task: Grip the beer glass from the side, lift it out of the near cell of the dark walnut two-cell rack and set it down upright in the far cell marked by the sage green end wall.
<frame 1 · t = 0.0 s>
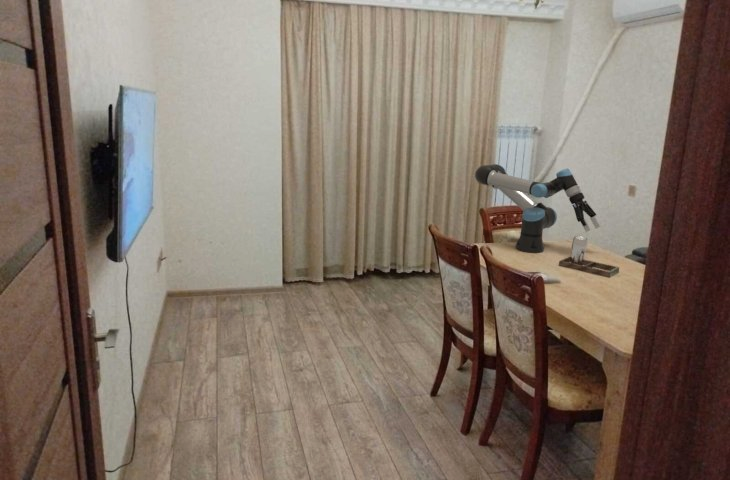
hand: (593, 229, 278), 15 cm above the table, tool tilted 35°, fingers open, 13 cm apart
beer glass: (576, 266, 262), resting in two-cell rack
two-cell rack: (588, 268, 258), on the table
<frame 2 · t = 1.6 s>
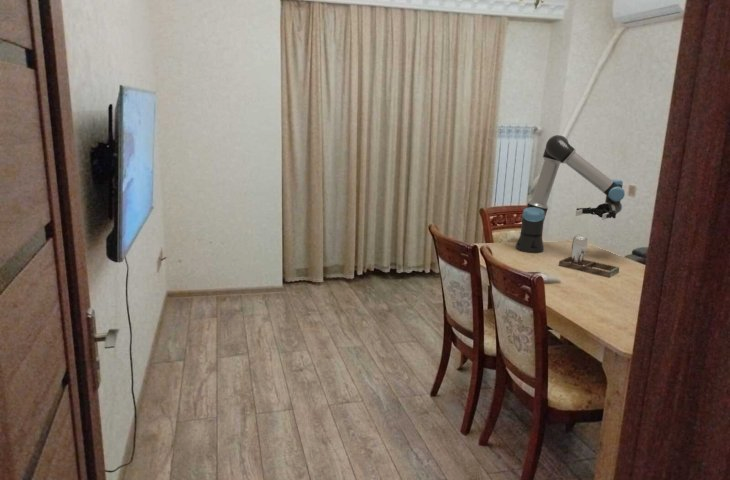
hand: (589, 215, 263), 26 cm above the table, tool horizontal, fingers open, 13 cm apart
nothing on the table moved.
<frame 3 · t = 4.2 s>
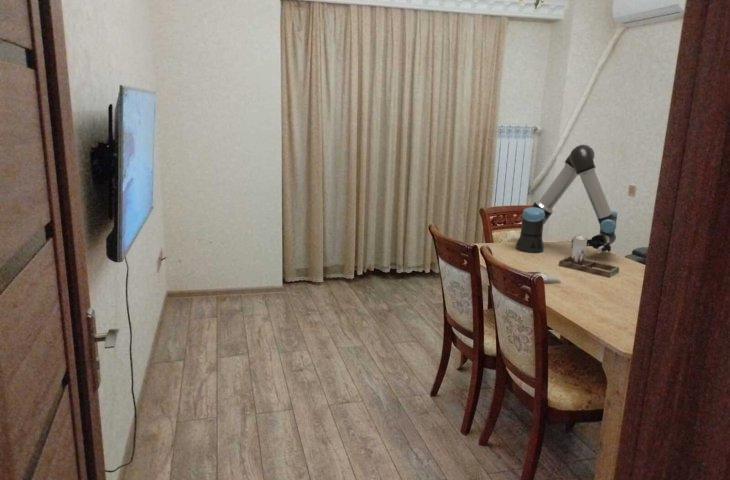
hand: (584, 247, 264), 9 cm above the table, tool horizontal, fingers open, 13 cm apart
nothing on the table moved.
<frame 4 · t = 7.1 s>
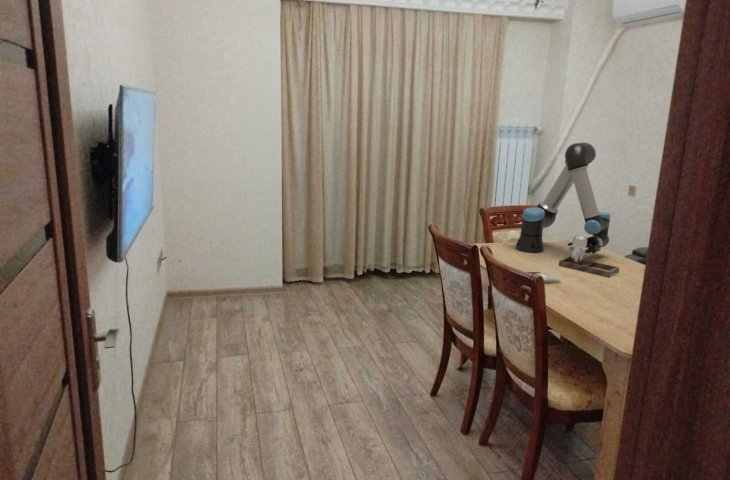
hand: (574, 250, 257), 9 cm above the table, tool horizontal, fingers closed on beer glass, 7 cm apart
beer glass: (576, 266, 262), resting in two-cell rack, touching gripper
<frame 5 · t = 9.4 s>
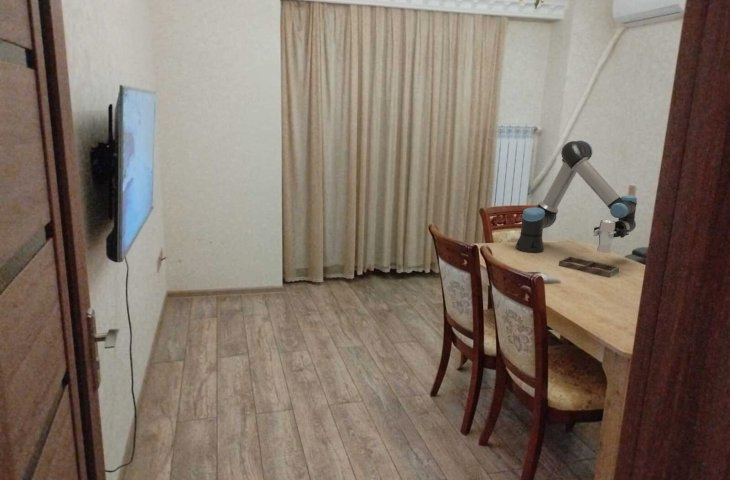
hand: (602, 234, 246), 20 cm above the table, tool horizontal, fingers closed on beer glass, 7 cm apart
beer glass: (603, 251, 252), point 10 cm above the table, touching gripper
when the fingers open (10 cm above the table, at t = 11.7 s): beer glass drops 1 cm, resting in two-cell rack.
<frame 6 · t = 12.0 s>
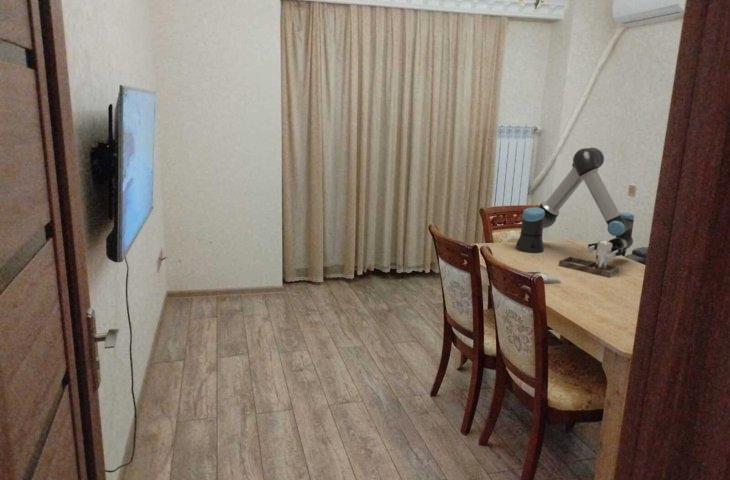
hand: (600, 252, 249), 10 cm above the table, tool horizontal, fingers open, 10 cm apart
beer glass: (600, 271, 254), resting in two-cell rack
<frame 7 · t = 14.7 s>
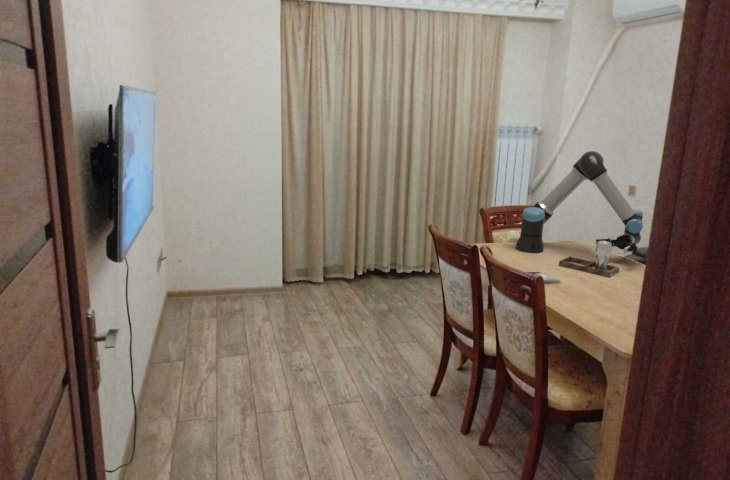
hand: (610, 248, 258), 11 cm above the table, tool horizontal, fingers open, 13 cm apart
nothing on the table moved.
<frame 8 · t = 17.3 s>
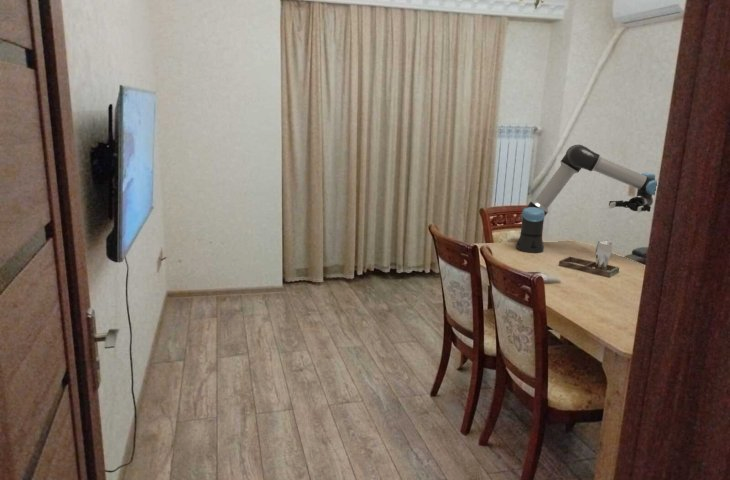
hand: (624, 207, 261), 30 cm above the table, tool horizontal, fingers open, 13 cm apart
nothing on the table moved.
at the end: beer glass 0.1 cm from the target spot on the two-cell rack, point 0.0 cm above the two-cell rack's base; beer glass tilted 0°; the gripper is holding nothing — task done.
